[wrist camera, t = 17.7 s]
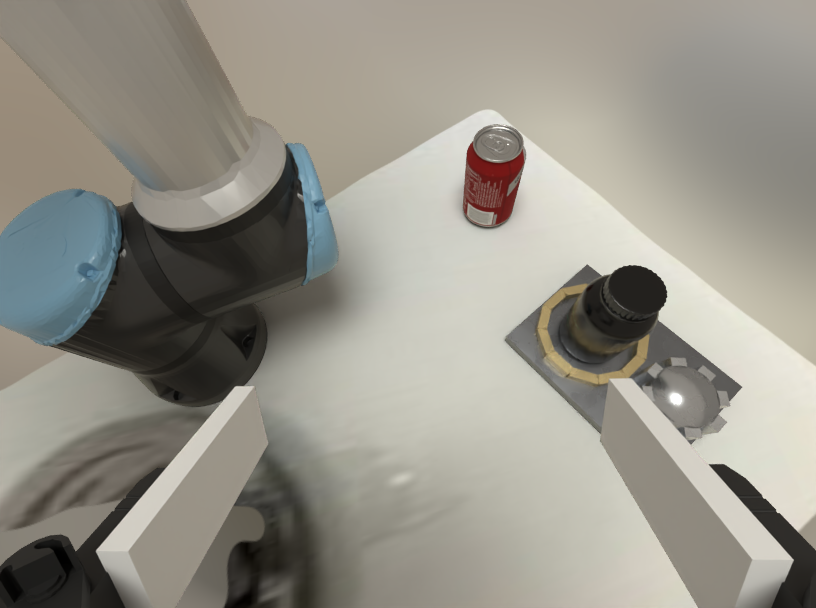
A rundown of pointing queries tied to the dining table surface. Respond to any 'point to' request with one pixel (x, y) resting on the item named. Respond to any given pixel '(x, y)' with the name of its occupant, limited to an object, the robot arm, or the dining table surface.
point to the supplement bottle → (613, 314)
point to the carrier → (626, 368)
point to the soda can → (493, 174)
